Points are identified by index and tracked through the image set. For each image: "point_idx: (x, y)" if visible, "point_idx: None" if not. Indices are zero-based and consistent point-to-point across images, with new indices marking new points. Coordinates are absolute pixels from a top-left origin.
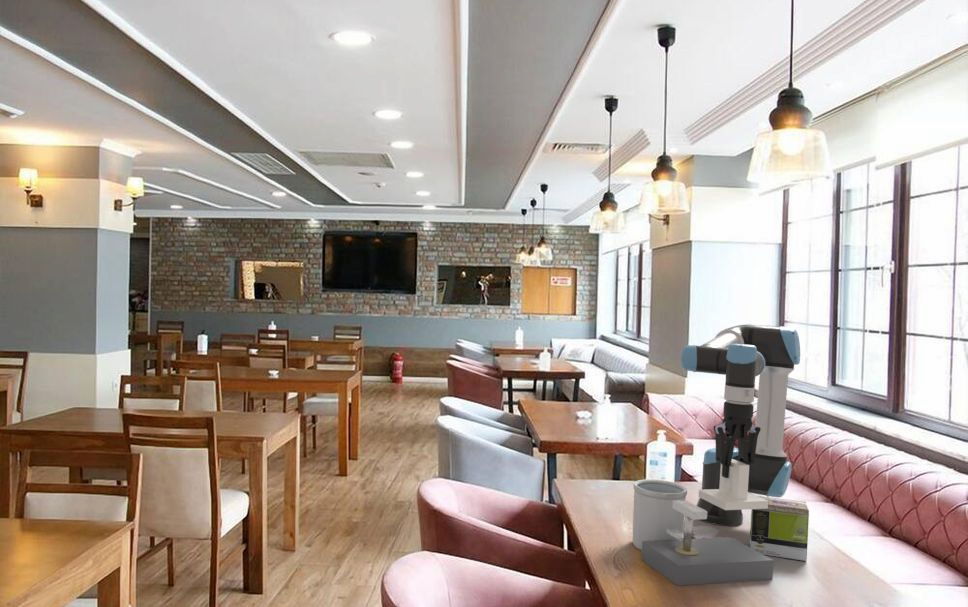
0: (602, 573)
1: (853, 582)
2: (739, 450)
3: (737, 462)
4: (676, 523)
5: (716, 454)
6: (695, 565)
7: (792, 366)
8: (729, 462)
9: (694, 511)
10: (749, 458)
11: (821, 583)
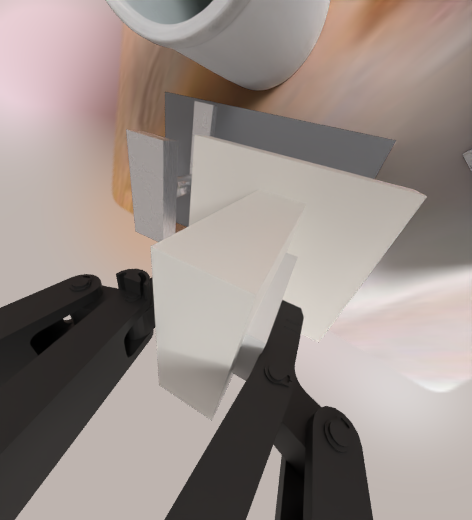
0: (119, 135)
1: (441, 340)
2: (175, 501)
3: (192, 370)
4: (235, 73)
5: (21, 308)
6: (187, 226)
7: None
8: (133, 343)
9: (137, 230)
10: (299, 467)
11: (379, 311)
